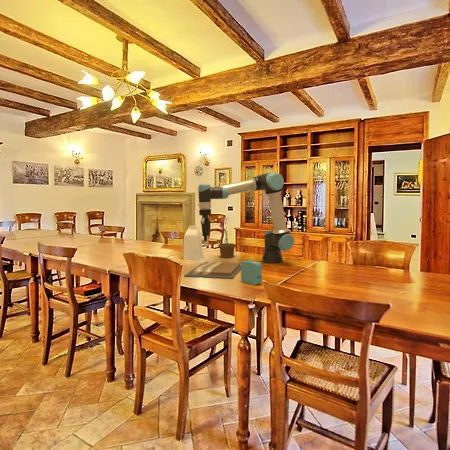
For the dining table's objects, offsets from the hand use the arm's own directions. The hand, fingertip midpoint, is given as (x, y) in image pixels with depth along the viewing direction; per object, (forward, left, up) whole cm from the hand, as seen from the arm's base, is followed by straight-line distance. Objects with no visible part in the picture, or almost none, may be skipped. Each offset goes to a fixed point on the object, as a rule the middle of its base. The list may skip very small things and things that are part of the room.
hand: (206, 246), depth 212 cm
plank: (0, -4, -16) cm, 17 cm away
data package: (-32, +20, -17) cm, 41 cm away
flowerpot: (-1, -55, -17) cm, 58 cm away
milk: (+24, -45, -17) cm, 54 cm away
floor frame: (-6, -4, -17) cm, 19 cm away
